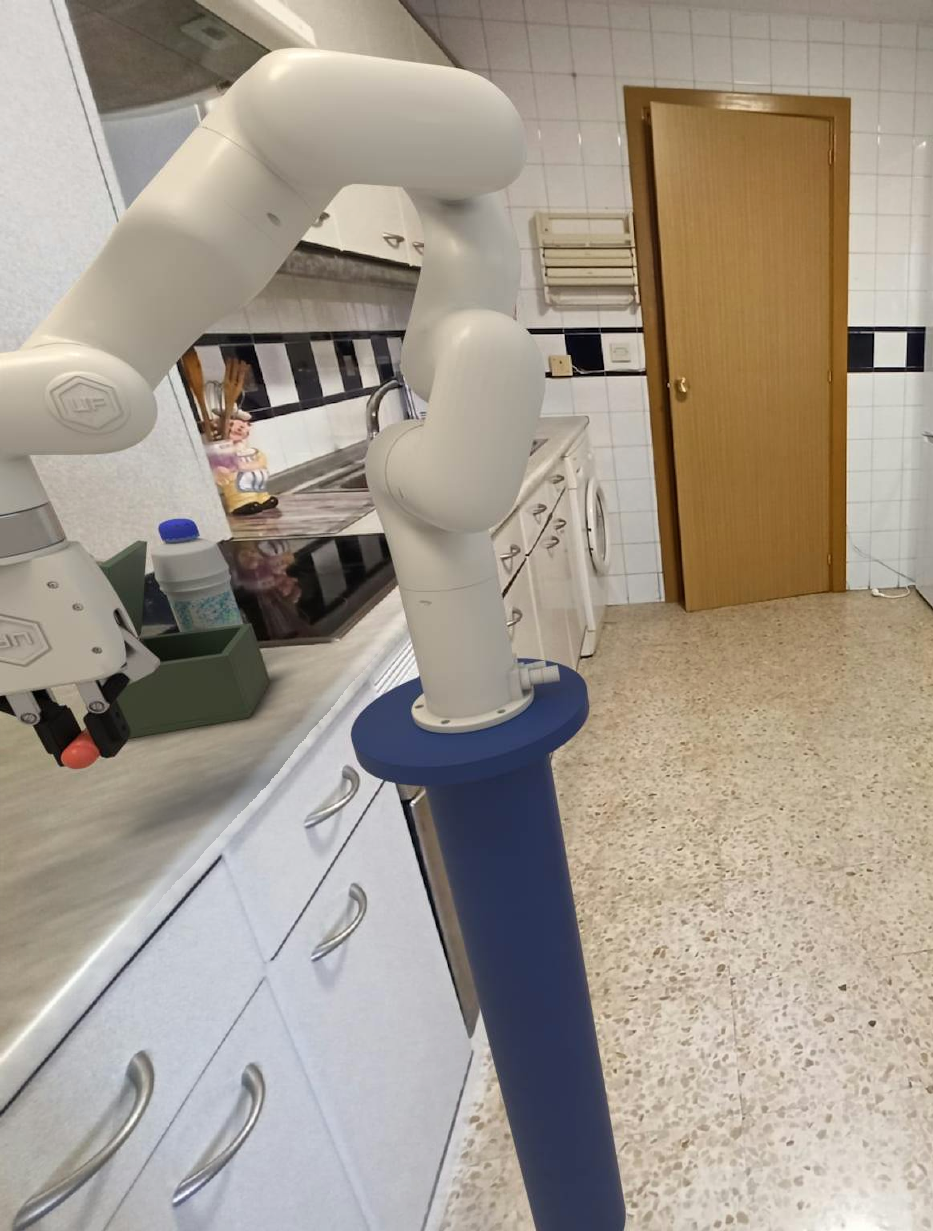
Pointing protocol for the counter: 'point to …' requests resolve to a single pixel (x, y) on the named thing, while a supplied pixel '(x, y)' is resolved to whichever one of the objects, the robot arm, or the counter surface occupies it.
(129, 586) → the bin lid
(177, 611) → the bottle
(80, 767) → the red jelly bean
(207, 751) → the counter surface
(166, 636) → the bin
